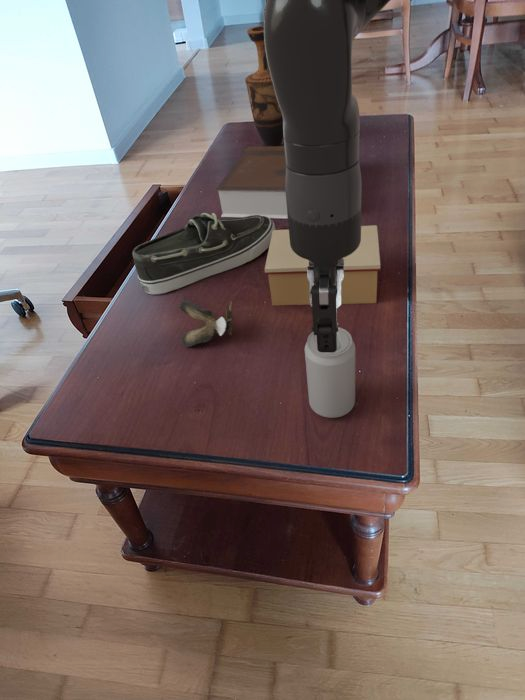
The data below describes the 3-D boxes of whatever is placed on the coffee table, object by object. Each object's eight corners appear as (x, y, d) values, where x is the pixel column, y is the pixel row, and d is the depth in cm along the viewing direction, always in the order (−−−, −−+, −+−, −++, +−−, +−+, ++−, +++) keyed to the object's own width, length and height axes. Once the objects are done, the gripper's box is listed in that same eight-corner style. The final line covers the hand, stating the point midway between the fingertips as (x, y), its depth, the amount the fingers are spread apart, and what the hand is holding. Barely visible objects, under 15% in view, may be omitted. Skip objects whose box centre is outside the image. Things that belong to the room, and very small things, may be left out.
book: (251, 171, 135) (248, 146, 131) (358, 171, 127) (358, 145, 123) (220, 216, 118) (215, 189, 114) (341, 220, 110) (341, 191, 106)
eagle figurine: (232, 309, 89) (179, 308, 89) (233, 294, 83) (176, 292, 82) (231, 351, 87) (178, 350, 87) (233, 339, 80) (175, 338, 80)
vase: (250, 160, 141) (232, 35, 121) (261, 145, 148) (247, 24, 128) (288, 160, 138) (276, 32, 118) (298, 144, 145) (288, 21, 125)
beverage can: (343, 382, 75) (342, 318, 67) (363, 412, 70) (364, 348, 62) (302, 395, 74) (296, 332, 66) (319, 427, 69) (315, 363, 61)
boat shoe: (289, 243, 106) (285, 199, 99) (158, 307, 94) (143, 262, 88) (259, 226, 113) (254, 184, 106) (134, 283, 102) (119, 240, 95)
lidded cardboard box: (376, 263, 97) (377, 225, 91) (379, 304, 87) (380, 265, 82) (276, 266, 100) (272, 229, 95) (269, 307, 90) (264, 269, 85)
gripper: (363, 238, 46) (360, 367, 57) (360, 172, 56) (358, 291, 67) (280, 241, 47) (293, 367, 58) (292, 176, 58) (301, 293, 69)
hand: (328, 326), depth 63 cm, fingers open, 8 cm apart
